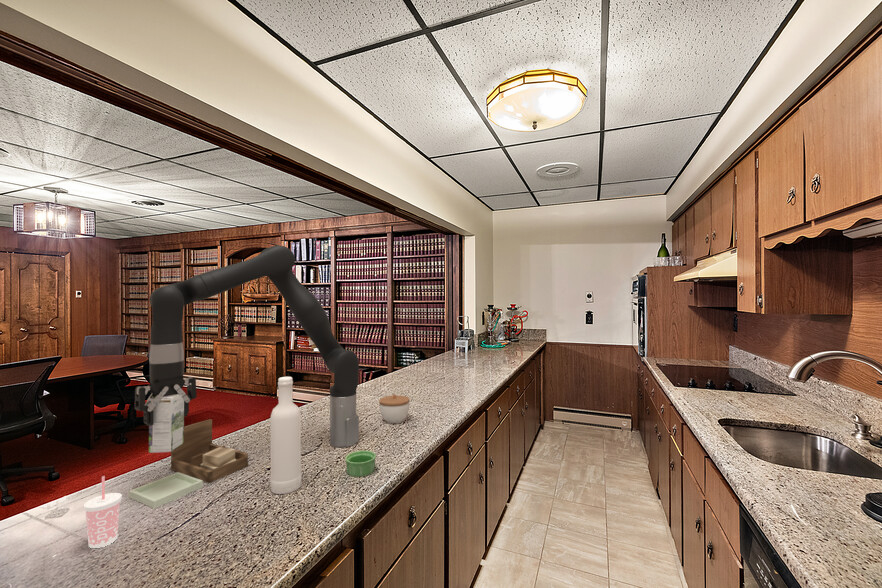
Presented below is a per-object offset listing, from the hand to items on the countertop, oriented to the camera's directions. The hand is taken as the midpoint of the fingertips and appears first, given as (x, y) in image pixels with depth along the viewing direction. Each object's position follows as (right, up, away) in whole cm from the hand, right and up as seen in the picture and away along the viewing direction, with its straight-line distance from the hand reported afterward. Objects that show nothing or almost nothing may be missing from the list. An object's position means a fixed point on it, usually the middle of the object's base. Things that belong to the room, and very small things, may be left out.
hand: (167, 420), depth 103 cm
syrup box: (0, -8, 0) cm, 8 cm away
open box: (+3, -19, +14) cm, 24 cm away
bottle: (+31, -19, +2) cm, 37 cm away
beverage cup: (+2, -19, -21) cm, 29 cm away
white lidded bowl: (+54, -19, +57) cm, 81 cm away
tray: (0, -19, 0) cm, 19 cm away
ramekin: (+50, -19, +11) cm, 55 cm away
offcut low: (+7, -20, +12) cm, 24 cm away
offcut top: (+7, -17, +12) cm, 22 cm away
